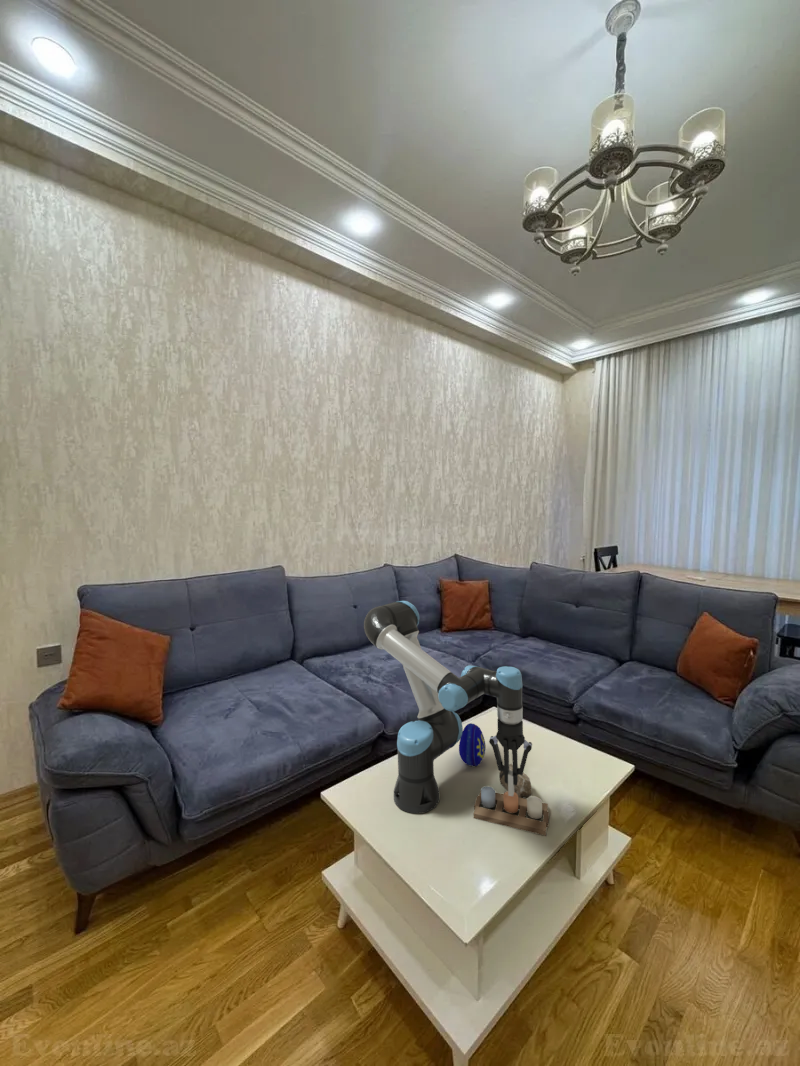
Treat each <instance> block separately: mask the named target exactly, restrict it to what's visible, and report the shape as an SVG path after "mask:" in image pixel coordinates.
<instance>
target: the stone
mask: <svg viewBox="0 0 800 1066" xmlns="http://www.w3.org/2000/svg"><path fill="white" fill-rule="evenodd" d="M509 770H512V771H513V763H509ZM499 783H500V785H501V786H502V788H504V790H505V792H507V791H508V784H507V783H505V779H504V772H503V771H499ZM514 792H515V793H516V794H517V795H518V797H519V798H524V799H527V798H528V797H530V796H532V794H533V792H532V783H531V779H530V777H529V776H528V775H527V774H526V772H524V771H523V775H520V774H519V775H518V782H517V785H514Z"/></svg>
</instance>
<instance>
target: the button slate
mask: <svg viewBox="0 0 800 1066" xmlns="http://www.w3.org/2000/svg"><path fill="white" fill-rule="evenodd" d="M480 791H481V806H483V808H487V809H492V808H494V807H496V804H495V792H496V789H495V788H493V787H491V786H482V787H481V789H480Z"/></svg>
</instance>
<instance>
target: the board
mask: <svg viewBox="0 0 800 1066" xmlns="http://www.w3.org/2000/svg"><path fill="white" fill-rule="evenodd" d="M548 804H549V803H547V802H542V820H538V819H534V818H531V817H529V818H528V817H527V815H528V814H527V798H519V797H518V815H516V814H513V813H509V812H504V793H501V792H500V793H499V792H496V791H495V809H492V808H487V807H482V804H481V790H480V791H479V794H478V795H477V796H476V798H475V802H474V805H473V809H474V811H473V819H476V820H480V821H484V822H488V823H492V824H495V825H500V826H504V827H508V828H512V829H517V830H522V831H525V832H529V833H532V834H537V835H541V836H547V828H549V821H550V820H549V819H550V818H549V817H550V811H549V810H548V809H549V805H548Z"/></svg>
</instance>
